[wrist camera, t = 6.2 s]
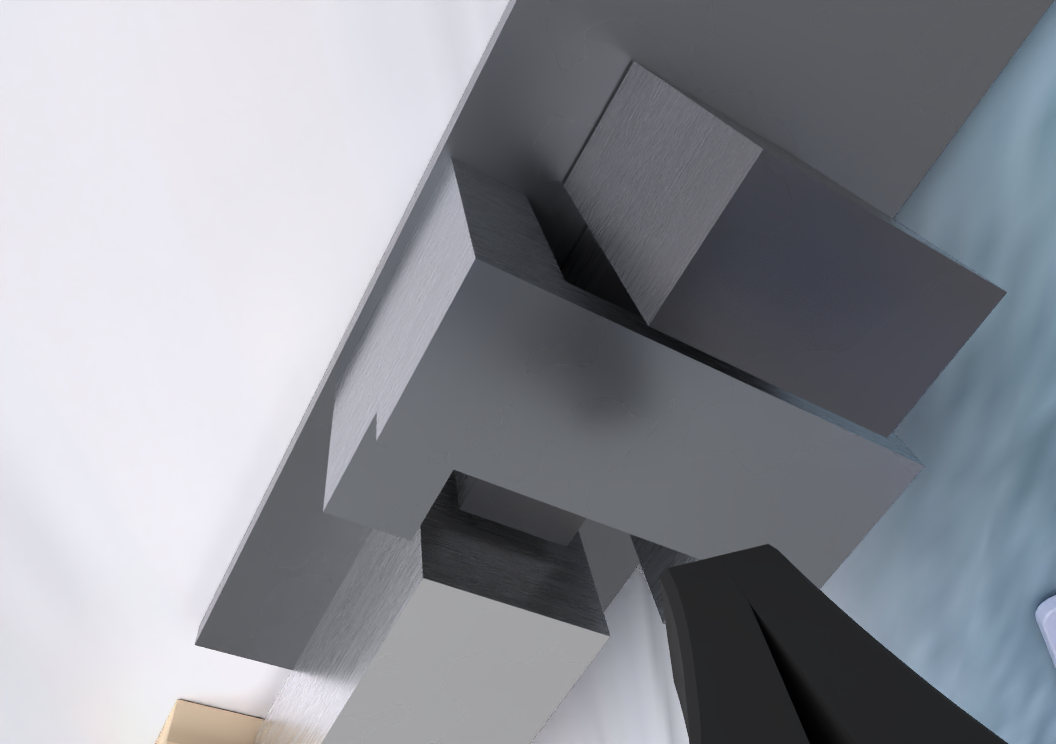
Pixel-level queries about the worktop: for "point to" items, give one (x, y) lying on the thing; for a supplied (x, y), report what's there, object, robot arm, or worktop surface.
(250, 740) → the rack
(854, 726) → the robot arm
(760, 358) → the dark gray rectangular block
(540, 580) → the tall gray pillar
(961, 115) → the socket
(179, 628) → the worktop surface
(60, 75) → the worktop surface
